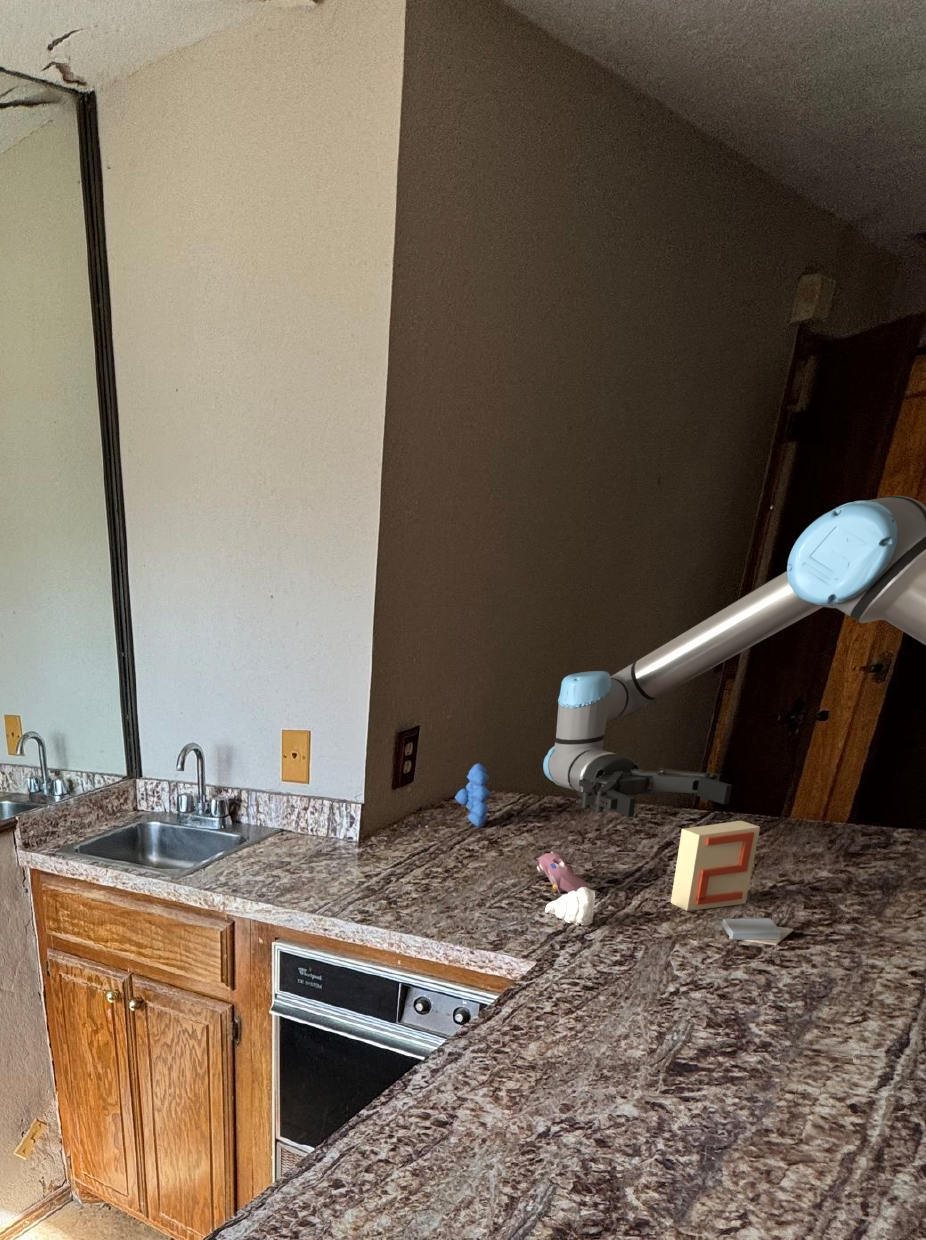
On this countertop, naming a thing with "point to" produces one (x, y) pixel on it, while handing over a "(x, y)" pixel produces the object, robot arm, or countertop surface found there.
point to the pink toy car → (560, 873)
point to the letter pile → (755, 930)
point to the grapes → (475, 795)
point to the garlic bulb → (574, 906)
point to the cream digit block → (714, 865)
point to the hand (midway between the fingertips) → (679, 801)
